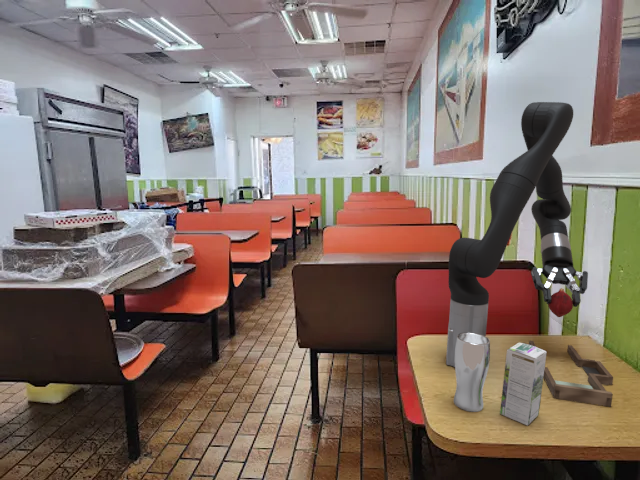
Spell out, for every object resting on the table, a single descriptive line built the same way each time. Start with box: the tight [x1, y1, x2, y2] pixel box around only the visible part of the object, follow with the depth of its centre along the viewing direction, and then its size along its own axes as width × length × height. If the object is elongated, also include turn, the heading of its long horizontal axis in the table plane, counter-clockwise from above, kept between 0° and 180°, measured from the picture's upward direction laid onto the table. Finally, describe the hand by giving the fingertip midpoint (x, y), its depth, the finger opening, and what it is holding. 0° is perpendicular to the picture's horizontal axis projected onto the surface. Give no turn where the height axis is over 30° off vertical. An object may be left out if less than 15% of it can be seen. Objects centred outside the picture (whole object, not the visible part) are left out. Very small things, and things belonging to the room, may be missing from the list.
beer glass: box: [453, 333, 491, 413], centre depth 87 cm, size 7×7×15 cm
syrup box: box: [499, 342, 547, 427], centre depth 83 cm, size 6×6×14 cm
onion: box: [547, 287, 573, 318], centre depth 110 cm, size 6×6×8 cm
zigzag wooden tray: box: [528, 340, 614, 408], centre depth 103 cm, size 19×30×3 cm, turn 163°
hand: (562, 303), depth 108 cm, fingers closed on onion, 5 cm apart
